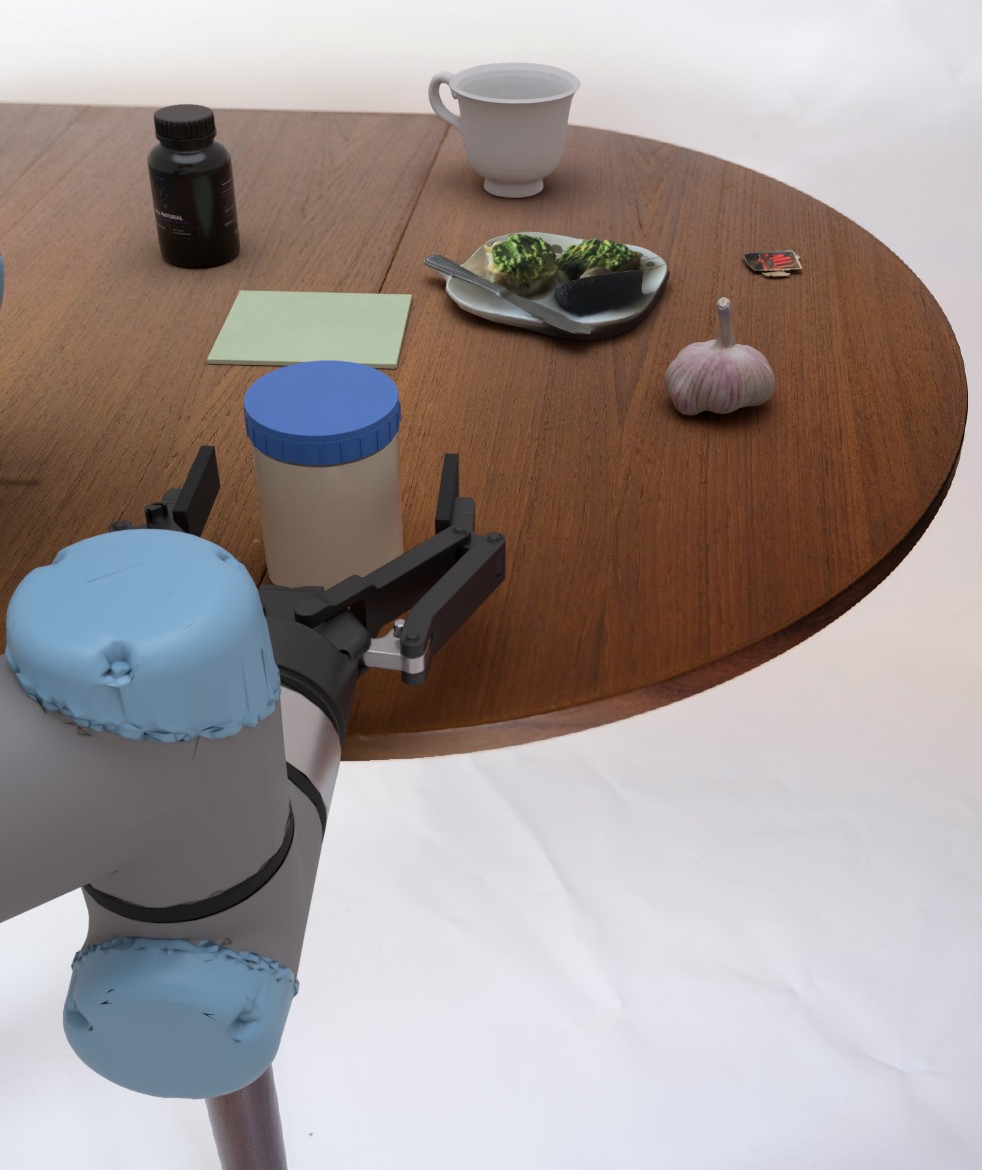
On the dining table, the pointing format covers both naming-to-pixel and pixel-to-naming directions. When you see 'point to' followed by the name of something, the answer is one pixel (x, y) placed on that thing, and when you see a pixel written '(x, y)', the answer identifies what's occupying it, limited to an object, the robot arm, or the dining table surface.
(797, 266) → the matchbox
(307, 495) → the jar
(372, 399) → the lid
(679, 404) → the garlic bulb
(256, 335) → the mat
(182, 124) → the supplement bottle
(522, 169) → the teacup
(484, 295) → the salad plate
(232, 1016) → the robot arm
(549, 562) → the dining table surface
